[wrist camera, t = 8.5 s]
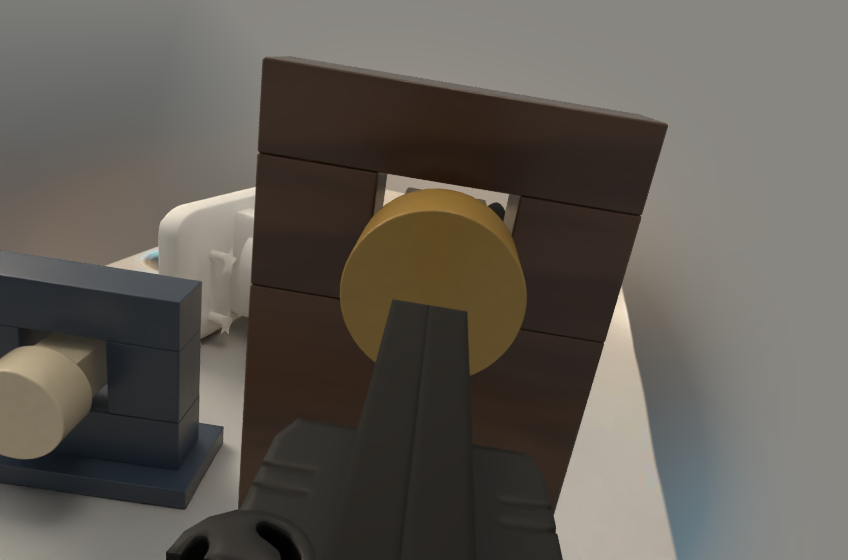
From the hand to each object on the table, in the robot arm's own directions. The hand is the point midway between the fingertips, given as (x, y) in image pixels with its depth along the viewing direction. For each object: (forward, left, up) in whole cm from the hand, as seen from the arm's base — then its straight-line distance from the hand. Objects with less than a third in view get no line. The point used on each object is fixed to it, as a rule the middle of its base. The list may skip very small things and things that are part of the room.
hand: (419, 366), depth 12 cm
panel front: (+9, -3, -19) cm, 21 cm away
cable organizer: (+38, +2, -19) cm, 42 cm away
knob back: (+19, +13, -15) cm, 28 cm away
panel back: (+22, +12, -19) cm, 31 cm away
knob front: (+6, -2, -2) cm, 7 cm away
